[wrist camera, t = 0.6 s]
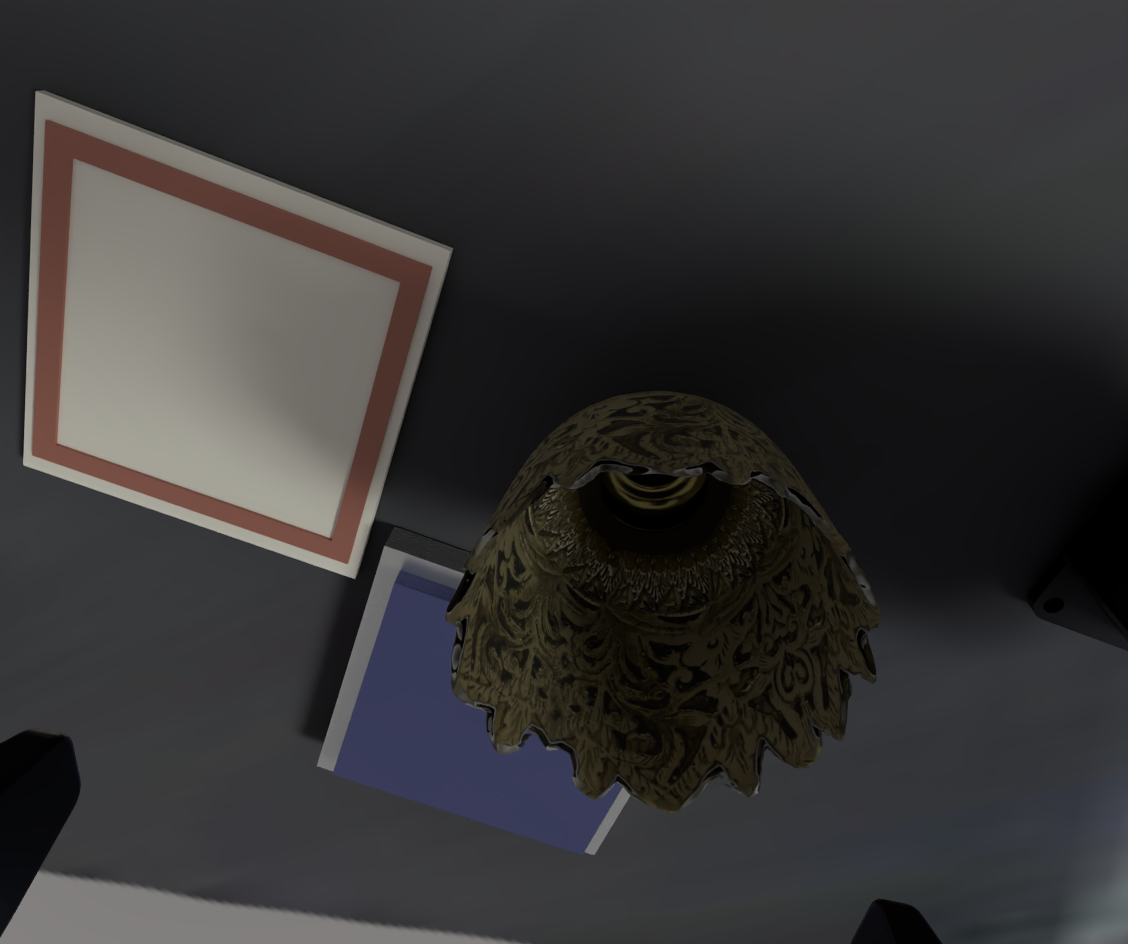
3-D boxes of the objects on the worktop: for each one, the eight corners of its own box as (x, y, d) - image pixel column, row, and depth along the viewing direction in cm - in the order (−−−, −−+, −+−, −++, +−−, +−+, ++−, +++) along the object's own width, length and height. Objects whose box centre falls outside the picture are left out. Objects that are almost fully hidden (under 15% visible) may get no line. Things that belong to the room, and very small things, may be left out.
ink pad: (709, 637, 23) (713, 675, 22) (595, 829, 28) (593, 871, 26) (394, 526, 22) (377, 558, 21) (327, 742, 27) (310, 780, 25)
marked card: (453, 248, 19) (449, 251, 18) (358, 573, 23) (354, 581, 23) (44, 90, 18) (32, 91, 17) (30, 460, 23) (20, 466, 22)
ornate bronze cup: (864, 432, 20) (985, 642, 13) (677, 616, 23) (691, 866, 16) (624, 253, 18) (611, 381, 11) (458, 477, 22) (369, 685, 15)
